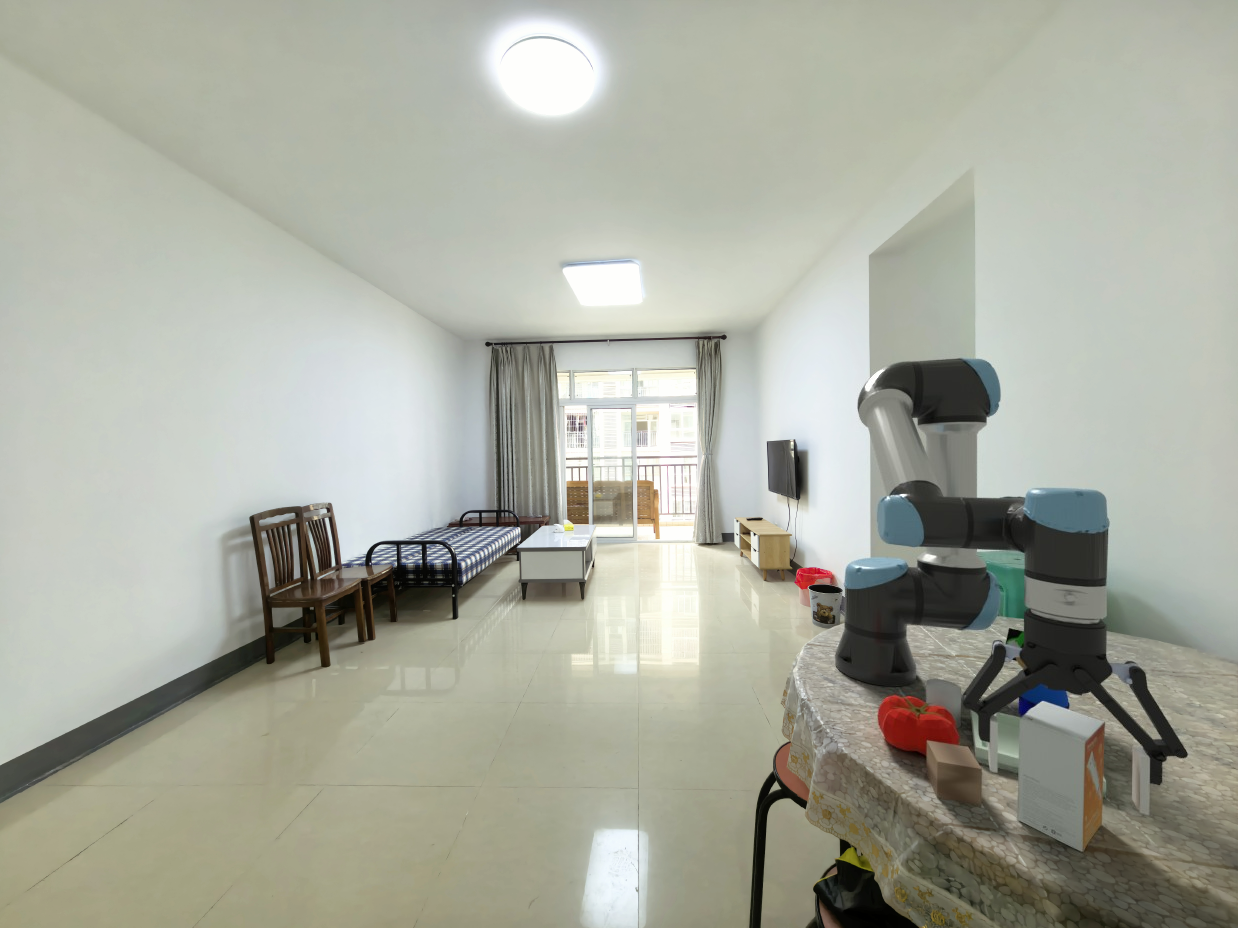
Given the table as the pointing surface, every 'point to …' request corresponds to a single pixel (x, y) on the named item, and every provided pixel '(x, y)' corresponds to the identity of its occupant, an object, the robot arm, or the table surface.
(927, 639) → the table surface
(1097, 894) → the table surface
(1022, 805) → the small box
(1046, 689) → the toy
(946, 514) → the robot arm
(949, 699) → the grey cylinder
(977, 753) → the tray
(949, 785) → the walnut cube
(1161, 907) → the table surface
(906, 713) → the tomato
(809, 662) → the table surface
